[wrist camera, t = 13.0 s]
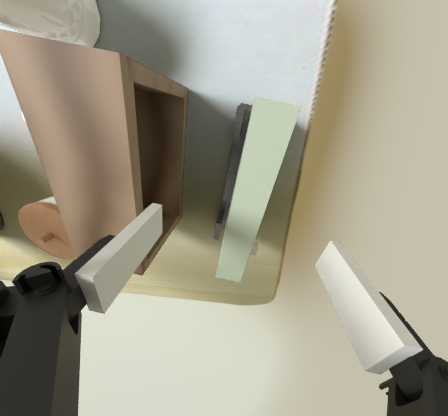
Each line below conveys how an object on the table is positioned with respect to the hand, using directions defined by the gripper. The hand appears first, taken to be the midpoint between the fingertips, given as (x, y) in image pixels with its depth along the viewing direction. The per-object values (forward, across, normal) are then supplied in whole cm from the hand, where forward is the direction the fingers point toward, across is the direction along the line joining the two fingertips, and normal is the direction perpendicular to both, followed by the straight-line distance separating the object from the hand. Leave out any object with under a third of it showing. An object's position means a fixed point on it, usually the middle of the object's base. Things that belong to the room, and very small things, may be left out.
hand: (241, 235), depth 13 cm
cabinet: (+15, -14, 0) cm, 20 cm away
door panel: (+14, 0, 0) cm, 14 cm away
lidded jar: (+15, -28, -13) cm, 34 cm away
